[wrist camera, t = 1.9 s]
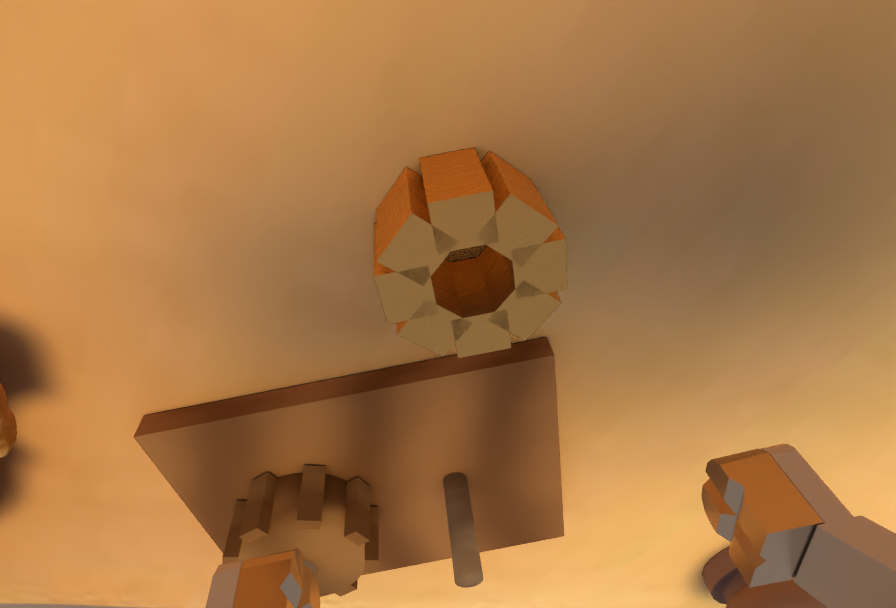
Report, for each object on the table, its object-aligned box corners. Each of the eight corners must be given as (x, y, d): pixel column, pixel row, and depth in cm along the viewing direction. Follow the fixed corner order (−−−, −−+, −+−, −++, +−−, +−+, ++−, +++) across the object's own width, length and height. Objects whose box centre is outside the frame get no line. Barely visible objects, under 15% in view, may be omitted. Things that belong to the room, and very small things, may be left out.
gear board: (546, 337, 23) (593, 450, 18) (558, 517, 32) (593, 629, 27) (143, 415, 24) (80, 549, 18) (259, 575, 32) (237, 697, 27)
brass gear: (533, 135, 18) (563, 176, 15) (542, 281, 22) (568, 336, 19) (359, 169, 18) (356, 217, 15) (397, 309, 22) (400, 369, 19)
